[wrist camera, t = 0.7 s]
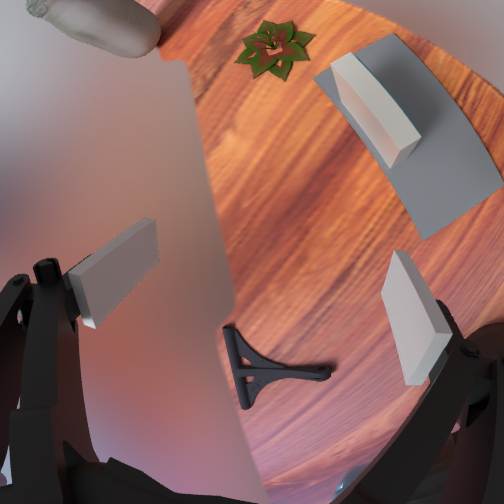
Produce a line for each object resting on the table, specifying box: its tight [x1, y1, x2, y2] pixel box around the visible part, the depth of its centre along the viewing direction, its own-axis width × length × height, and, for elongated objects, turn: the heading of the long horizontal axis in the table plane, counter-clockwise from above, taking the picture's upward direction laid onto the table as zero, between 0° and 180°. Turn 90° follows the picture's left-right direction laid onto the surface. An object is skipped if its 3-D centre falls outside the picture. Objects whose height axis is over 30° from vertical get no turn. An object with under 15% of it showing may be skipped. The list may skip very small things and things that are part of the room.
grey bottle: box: [26, 0, 161, 58], centre depth 27 cm, size 10×10×28 cm
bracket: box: [222, 326, 331, 410], centre depth 37 cm, size 14×15×3 cm
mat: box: [313, 33, 504, 241], centre depth 27 cm, size 24×14×1 cm, turn 33°
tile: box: [330, 52, 421, 169], centre depth 24 cm, size 10×3×10 cm, turn 33°
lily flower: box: [234, 20, 315, 81], centre depth 30 cm, size 12×12×5 cm
